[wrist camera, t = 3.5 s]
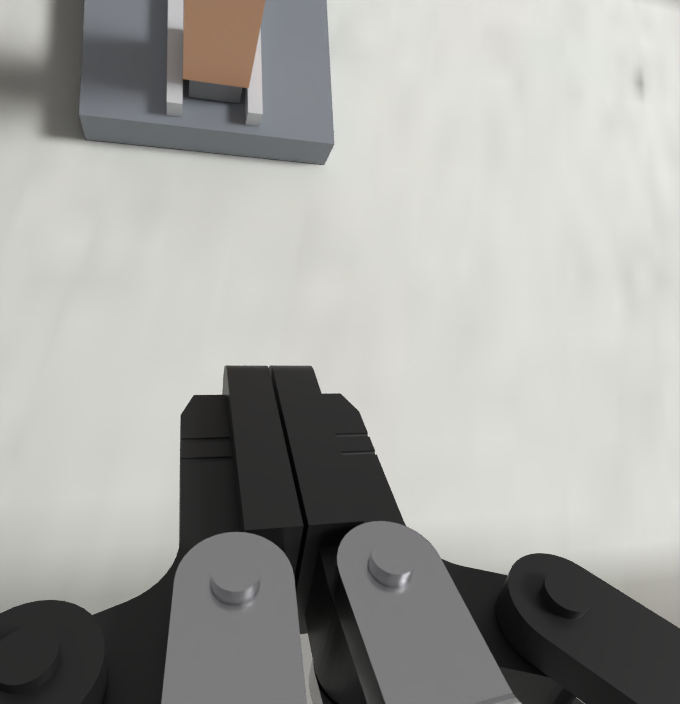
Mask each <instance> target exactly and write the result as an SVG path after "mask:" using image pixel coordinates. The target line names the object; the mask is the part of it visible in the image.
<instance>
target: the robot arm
mask: <svg viewBox="0 0 680 704" xmlns="http://www.w3.org/2000/svg"><path fill="white" fill-rule="evenodd" d="M367 433H368V432H367V430H366V427H365V425H364V423H363V420H362V418H361V415H360V413H359V411H358V410H357V409H356V408H355V407H354V406H353V405H352V404H351V403H350V402H349V401H348V400H347V399H346V398H344V397H343V396H342V395H341V394H321V391H320V388H319V385H318V382H317V379H316V376H315V373H314V370H313V368H312V366H269V368H268V366H225V368H224V377H223V393H222V395H194V396H193V397H192V399H191V400H190V402H189V403H188V405H187V406H186V408H185V409H184V411H183V412H182V414H181V427H180V512H179V550H178V553H177V556H176V558H175V561H174V563H173V565H172V566H171V568H170V569H169V570H168V572H167V573H166V574H165V575H164V577H163V578H162V579H161V580H160V581H159V582H158V583H156V584H155V585H154V586H153V587H152V588H150V589H149V590H147V591H146V592H144V593H143V594H141V595H139V596H137V597H135V598H133V599H131V600H129V601H127V602H124V603H122V604H119V605H117V606H114V607H112V608H109V609H107V610H104V611H102V612H99V613H97V614H94V615H91V614H90V613H89V612H87V611H86V610H85V609H84V608H82V607H80V606H77V605H75V604H73V603H69V602H65V601H57V600H43V601H35V602H30V603H26V604H23V605H19V606H16V607H13V608H11V609H9V610H7V611H5V612H3V613H0V704H307V700H306V690H305V680H304V670H303V660H302V650H301V640H300V634H306V633H308V636H309V641H310V647H311V652H312V657H313V660H312V664H311V668H310V674H309V689H310V695H311V699H312V702H313V704H584V703H585V704H680V628H678V627H676V626H675V625H673V624H672V623H670V622H668V621H667V620H665V619H664V618H662V617H660V616H659V615H657V614H656V613H654V612H652V611H651V610H649V609H648V608H646V607H644V606H643V605H641V604H640V603H638V602H636V601H635V600H633V599H632V598H630V597H629V596H627V595H625V594H624V593H622V592H621V591H619V590H617V589H616V588H614V587H613V586H611V585H609V584H608V583H606V582H605V581H603V580H601V579H600V578H598V577H597V576H595V575H593V574H592V573H590V572H589V571H587V570H585V569H584V568H582V567H581V566H579V565H577V564H575V563H573V562H572V561H569V560H567V559H565V558H562V557H559V556H555V555H551V554H542V553H536V554H530V555H527V556H524V557H522V558H520V559H519V560H517V561H516V562H515V564H514V565H513V566H512V568H511V570H510V572H509V574H508V575H503V574H498V573H493V572H489V571H484V570H479V569H474V568H469V567H464V566H460V565H456V564H453V563H450V562H448V561H445V560H443V559H441V558H440V556H439V554H438V553H437V551H436V549H435V548H434V547H433V546H432V545H431V543H430V542H429V541H428V540H427V539H425V538H424V537H423V536H422V535H420V534H419V533H418V532H416V531H415V530H413V529H411V528H409V527H407V526H406V525H405V523H404V521H403V518H402V516H401V513H400V511H399V509H398V506H397V504H396V501H395V499H394V496H393V494H392V491H391V489H390V486H389V484H388V482H387V479H386V477H385V474H384V472H383V469H382V467H381V464H380V462H379V459H378V457H377V455H375V450H374V447H373V445H372V442H371V440H370V437H368V435H367ZM576 697H577V698H578V699H580V700H581V701H582V702H584V703H582V702H581V701H580V700H578V699H577V698H576Z"/></svg>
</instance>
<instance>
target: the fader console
mask: <svg viewBox="0 0 680 704" xmlns="http://www.w3.org/2000/svg"><path fill="white" fill-rule="evenodd" d="M183 8H184V0H85V1H84V22H83V42H82V62H81V83H80V103H79V117H80V120H81V124H82V128H83V132H84V136H85V139H86V140H96V141H105V142H115V143H124V144H134V145H143V146H153V147H162V148H172V149H181V150H191V151H200V152H210V153H219V154H229V155H239V156H248V157H258V158H267V159H277V160H286V161H296V162H305V163H315V164H325V162H326V160H327V158H328V156H329V154H330V152H331V150H332V148H333V146H334V131H333V112H332V94H331V76H330V57H329V39H328V20H327V2H326V0H266V1H265V6H264V12H263V17H262V22H261V27H260V32H259V38H258V43H257V48H256V53H255V58H254V64H253V69H252V74H251V79H250V84H249V88H243V87H242V92H241V98H240V103H233V102H226V101H218V100H210V99H203V98H195V97H189V80H185V79H183Z"/></svg>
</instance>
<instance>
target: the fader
mask: <svg viewBox="0 0 680 704" xmlns="http://www.w3.org/2000/svg"><path fill="white" fill-rule="evenodd" d="M265 1H266V0H184V8H183V79H185V80H189V97H195V98H203V99H210V100H218V101H226V102H233V103H240V98H241V92H242V87H243V88H249V84H250V79H251V74H252V69H253V64H254V58H255V53H256V48H257V43H258V38H259V32H260V27H261V22H262V17H263V12H264V6H265Z"/></svg>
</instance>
